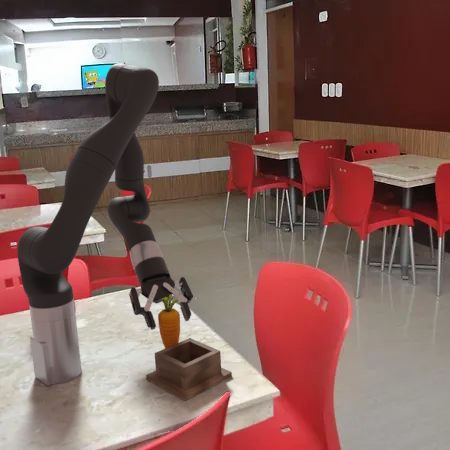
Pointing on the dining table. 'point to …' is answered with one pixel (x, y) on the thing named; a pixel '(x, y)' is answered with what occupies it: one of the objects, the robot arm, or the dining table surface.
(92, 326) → the dining table surface
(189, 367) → the socket block
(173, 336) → the carrot
